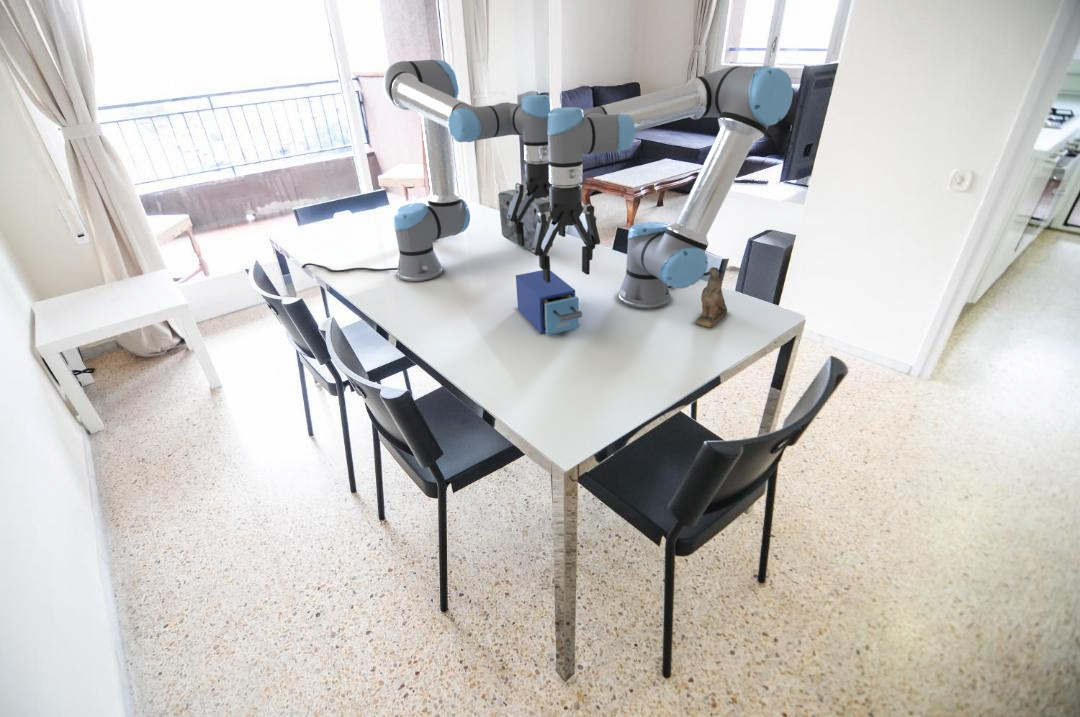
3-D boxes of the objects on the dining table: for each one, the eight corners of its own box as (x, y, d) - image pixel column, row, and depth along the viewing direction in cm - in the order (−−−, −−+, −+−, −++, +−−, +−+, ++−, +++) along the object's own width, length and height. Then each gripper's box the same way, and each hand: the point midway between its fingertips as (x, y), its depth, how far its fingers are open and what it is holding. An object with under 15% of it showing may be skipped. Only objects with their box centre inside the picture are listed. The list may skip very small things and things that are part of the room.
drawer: (587, 336, 131) (588, 305, 127) (555, 344, 128) (555, 313, 124) (553, 304, 149) (552, 277, 144) (524, 311, 146) (523, 282, 141)
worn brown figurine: (709, 335, 136) (713, 280, 124) (691, 329, 139) (693, 274, 128) (730, 313, 142) (736, 258, 130) (712, 307, 145) (716, 253, 133)
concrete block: (558, 253, 189) (557, 199, 178) (539, 258, 184) (537, 204, 174) (519, 237, 207) (516, 187, 197) (501, 241, 203) (497, 191, 193)
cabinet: (575, 325, 139) (575, 290, 133) (540, 333, 135) (539, 297, 130) (549, 301, 153) (548, 268, 147) (517, 308, 149) (515, 275, 144)
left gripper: (503, 169, 123) (509, 252, 134) (586, 157, 133) (585, 235, 144) (490, 165, 128) (496, 245, 139) (570, 154, 139) (570, 229, 150)
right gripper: (525, 194, 105) (530, 290, 117) (617, 181, 113) (613, 273, 124) (513, 187, 111) (518, 279, 123) (601, 175, 119) (598, 263, 130)
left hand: (541, 240), depth 142 cm, fingers open, 13 cm apart
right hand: (566, 276), depth 124 cm, fingers open, 10 cm apart
